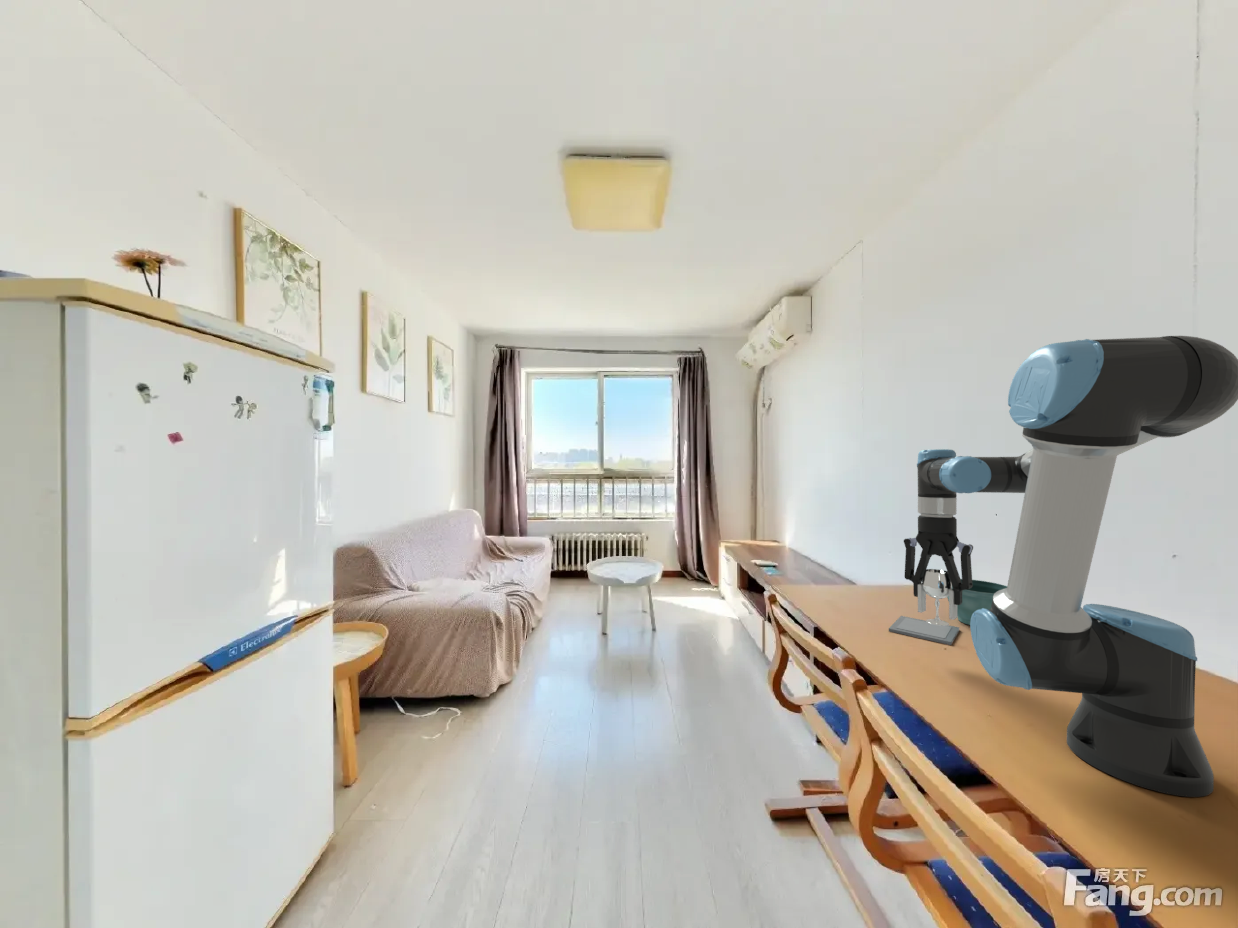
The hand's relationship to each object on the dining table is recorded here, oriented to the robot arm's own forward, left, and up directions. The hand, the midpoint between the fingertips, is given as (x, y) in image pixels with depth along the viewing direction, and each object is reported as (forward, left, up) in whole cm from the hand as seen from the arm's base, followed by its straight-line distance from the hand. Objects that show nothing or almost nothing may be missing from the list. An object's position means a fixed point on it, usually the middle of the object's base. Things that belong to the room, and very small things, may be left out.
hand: (937, 614), depth 109 cm
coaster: (+18, +9, -11) cm, 23 cm away
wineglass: (0, 0, -2) cm, 2 cm away
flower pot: (+37, +2, -11) cm, 39 cm away
